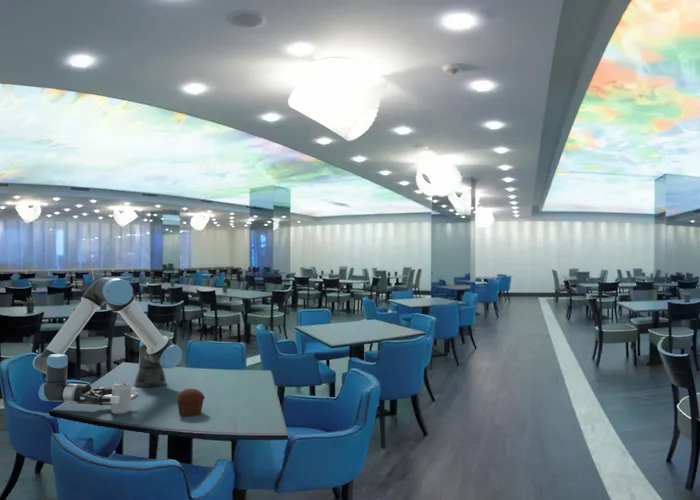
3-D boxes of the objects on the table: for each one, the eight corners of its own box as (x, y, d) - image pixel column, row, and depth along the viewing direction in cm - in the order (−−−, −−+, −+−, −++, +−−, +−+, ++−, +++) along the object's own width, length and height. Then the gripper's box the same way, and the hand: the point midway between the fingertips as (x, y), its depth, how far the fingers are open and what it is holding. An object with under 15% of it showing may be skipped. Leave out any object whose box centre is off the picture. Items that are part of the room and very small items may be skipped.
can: (134, 410, 216) (135, 382, 217) (121, 415, 209) (122, 386, 209) (120, 408, 219) (121, 380, 219) (106, 413, 212) (107, 384, 212)
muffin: (209, 411, 219) (210, 387, 219) (195, 418, 208) (196, 394, 208) (184, 408, 222) (185, 385, 222) (169, 416, 211) (170, 391, 211)
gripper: (94, 394, 228) (140, 396, 226) (59, 410, 203) (111, 413, 201) (95, 377, 228) (141, 379, 226) (60, 391, 203) (111, 394, 201)
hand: (127, 395), depth 214 cm, fingers open, 13 cm apart
